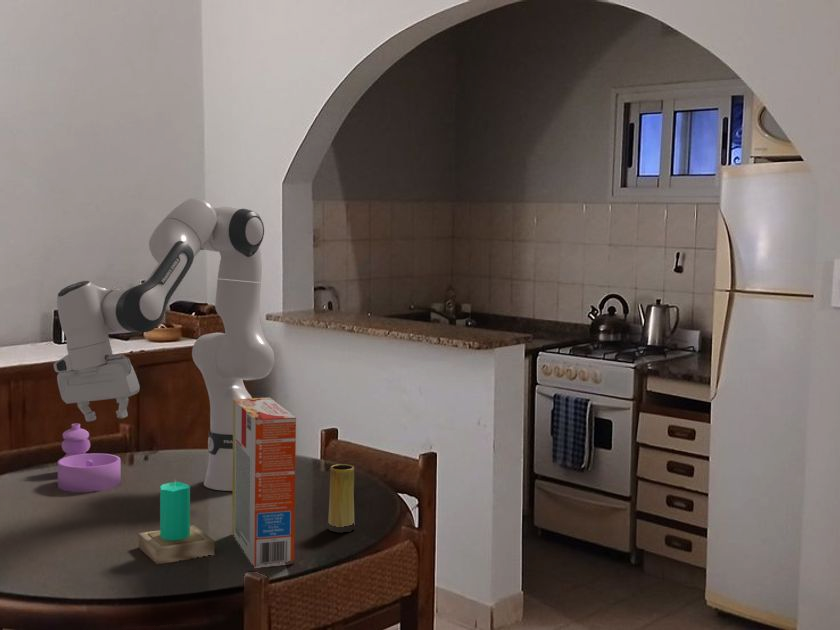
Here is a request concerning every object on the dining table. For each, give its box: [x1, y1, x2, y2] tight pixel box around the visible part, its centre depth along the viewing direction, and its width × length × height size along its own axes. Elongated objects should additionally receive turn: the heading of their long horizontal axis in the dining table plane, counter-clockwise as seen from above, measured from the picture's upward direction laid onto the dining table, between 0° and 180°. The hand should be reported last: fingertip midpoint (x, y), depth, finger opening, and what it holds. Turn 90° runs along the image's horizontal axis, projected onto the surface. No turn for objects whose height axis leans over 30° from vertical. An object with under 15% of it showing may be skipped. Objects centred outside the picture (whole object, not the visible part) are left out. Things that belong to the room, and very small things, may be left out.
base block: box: [138, 524, 215, 565], centre depth 210 cm, size 12×12×3 cm
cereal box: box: [231, 397, 297, 567], centre depth 211 cm, size 23×8×30 cm, turn 21°
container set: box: [57, 423, 122, 493], centre depth 263 cm, size 25×15×13 cm, turn 32°
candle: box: [159, 478, 191, 540], centre depth 209 cm, size 6×6×12 cm
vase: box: [327, 463, 355, 527], centre depth 227 cm, size 6×6×14 cm
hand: (107, 419), depth 220 cm, fingers open, 8 cm apart
